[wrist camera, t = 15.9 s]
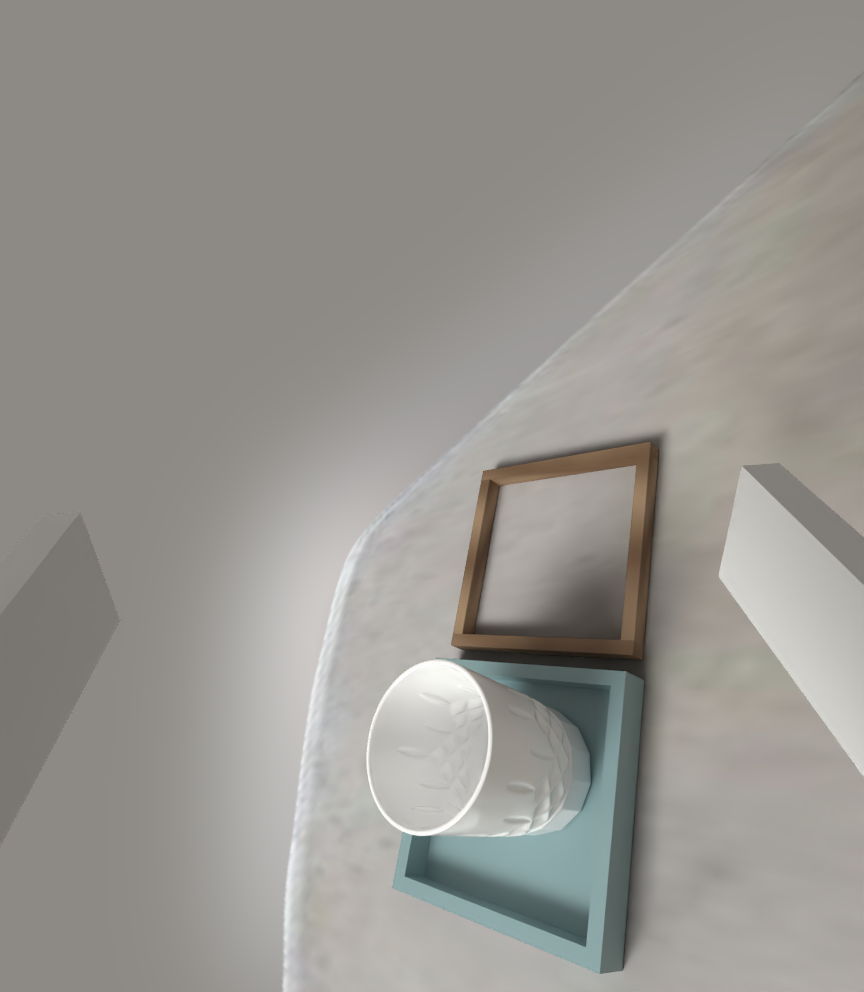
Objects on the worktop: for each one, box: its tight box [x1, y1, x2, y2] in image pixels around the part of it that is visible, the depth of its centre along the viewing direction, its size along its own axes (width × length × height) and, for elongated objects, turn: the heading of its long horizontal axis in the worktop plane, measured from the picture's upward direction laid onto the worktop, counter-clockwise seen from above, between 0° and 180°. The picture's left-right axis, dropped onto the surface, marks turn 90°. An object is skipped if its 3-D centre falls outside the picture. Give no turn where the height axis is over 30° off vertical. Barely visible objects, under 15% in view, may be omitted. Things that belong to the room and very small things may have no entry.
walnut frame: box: [451, 442, 659, 660], centre depth 43 cm, size 13×13×1 cm
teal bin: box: [392, 658, 644, 974], centre depth 38 cm, size 14×14×2 cm
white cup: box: [367, 659, 591, 837], centre depth 34 cm, size 8×8×10 cm
